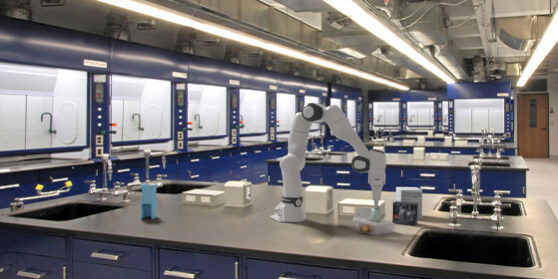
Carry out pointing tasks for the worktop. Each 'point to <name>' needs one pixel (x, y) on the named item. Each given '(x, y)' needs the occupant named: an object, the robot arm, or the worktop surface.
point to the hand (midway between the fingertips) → (375, 206)
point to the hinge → (363, 214)
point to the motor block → (376, 227)
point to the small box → (405, 213)
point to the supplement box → (410, 197)
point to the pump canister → (376, 214)
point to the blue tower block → (148, 201)
